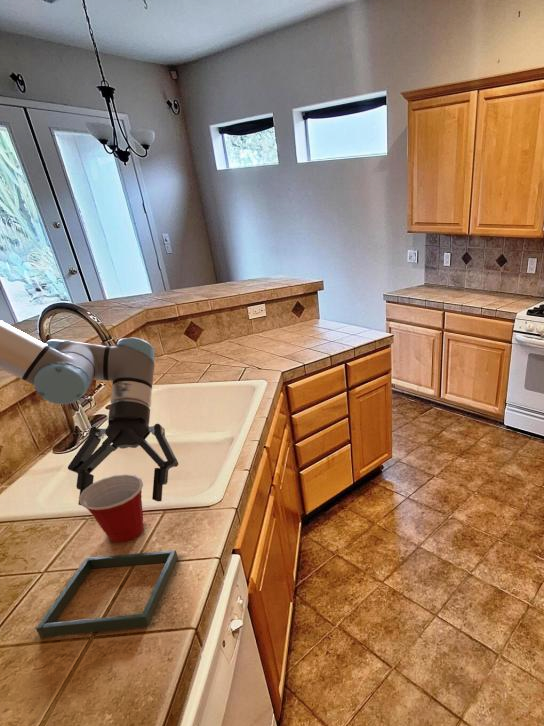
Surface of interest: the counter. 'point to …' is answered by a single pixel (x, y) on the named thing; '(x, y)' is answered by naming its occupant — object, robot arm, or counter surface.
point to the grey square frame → (52, 628)
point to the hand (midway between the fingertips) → (121, 503)
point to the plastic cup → (116, 505)
